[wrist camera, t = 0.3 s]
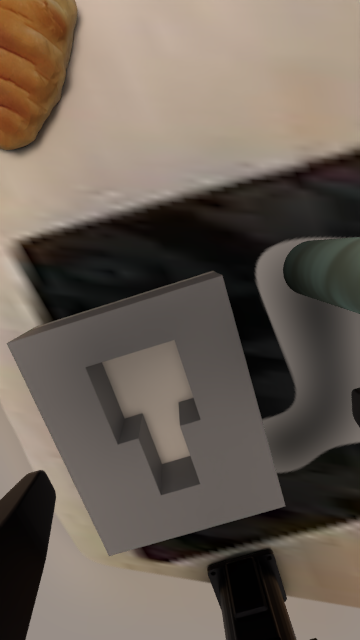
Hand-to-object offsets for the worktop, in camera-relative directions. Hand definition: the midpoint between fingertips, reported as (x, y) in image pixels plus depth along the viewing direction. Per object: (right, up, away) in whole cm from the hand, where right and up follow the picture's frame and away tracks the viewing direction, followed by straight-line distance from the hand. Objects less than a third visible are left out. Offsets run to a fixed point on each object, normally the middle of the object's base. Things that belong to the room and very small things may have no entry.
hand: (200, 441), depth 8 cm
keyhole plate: (-2, -3, +16) cm, 16 cm away
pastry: (-10, +20, +10) cm, 24 cm away
